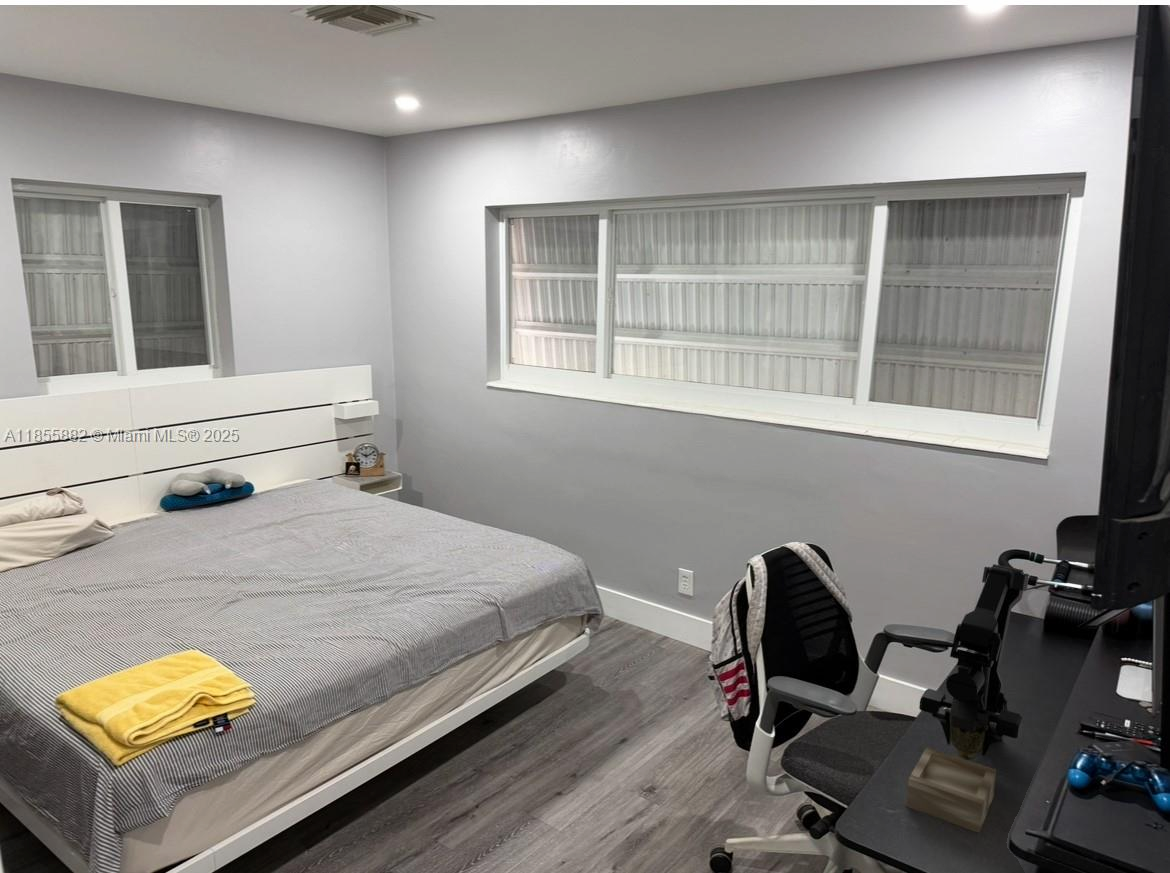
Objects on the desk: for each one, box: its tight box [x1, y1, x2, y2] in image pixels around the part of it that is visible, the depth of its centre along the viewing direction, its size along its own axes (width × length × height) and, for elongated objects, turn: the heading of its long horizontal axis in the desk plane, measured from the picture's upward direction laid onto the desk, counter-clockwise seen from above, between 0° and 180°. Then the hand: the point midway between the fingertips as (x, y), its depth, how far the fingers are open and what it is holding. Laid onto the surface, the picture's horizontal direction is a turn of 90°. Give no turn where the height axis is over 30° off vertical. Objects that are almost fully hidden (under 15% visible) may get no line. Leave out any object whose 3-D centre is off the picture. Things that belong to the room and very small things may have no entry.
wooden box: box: [906, 746, 997, 834], centre depth 158 cm, size 13×13×6 cm
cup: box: [949, 719, 989, 761], centre depth 169 cm, size 8×7×8 cm
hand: (966, 749), depth 170 cm, fingers closed on cup, 6 cm apart
